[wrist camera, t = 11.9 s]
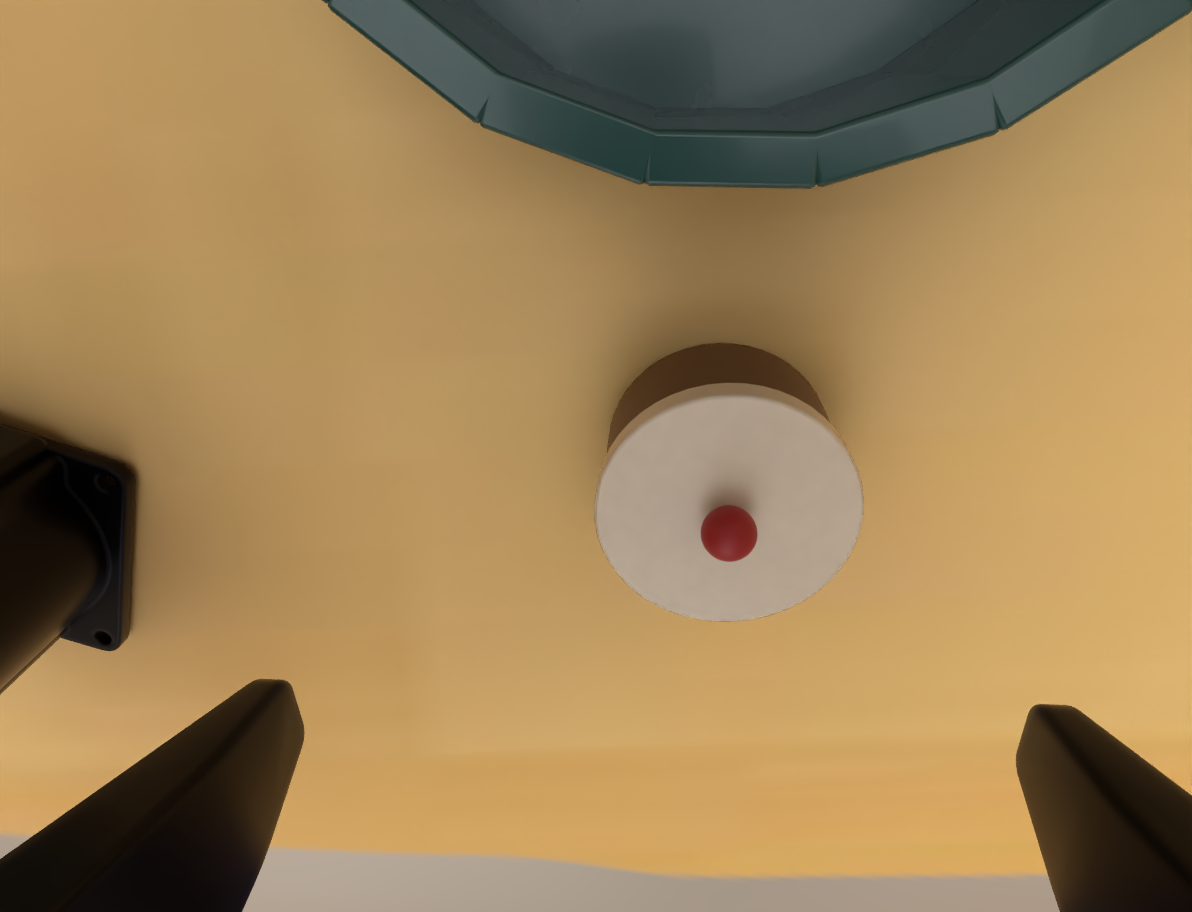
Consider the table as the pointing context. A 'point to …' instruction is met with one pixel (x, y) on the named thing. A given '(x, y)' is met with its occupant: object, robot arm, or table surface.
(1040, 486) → the table surface
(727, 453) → the cake
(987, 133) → the pot
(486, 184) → the table surface
